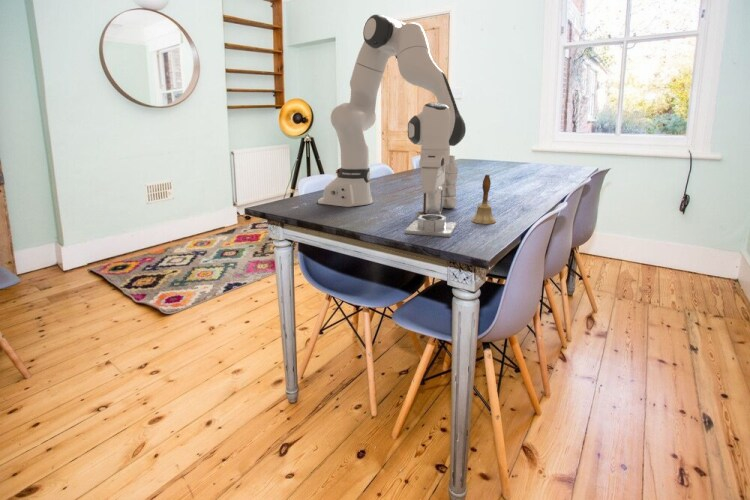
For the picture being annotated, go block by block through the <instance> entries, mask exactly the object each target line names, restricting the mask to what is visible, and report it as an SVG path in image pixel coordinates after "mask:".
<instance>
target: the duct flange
mask: <svg viewBox="0 0 750 500" xmlns="http://www.w3.org/2000/svg"><path fill="white" fill-rule="evenodd" d="M442 215H443V214H441V215H435V214H426V215H420V216H419V215H418V217H417V219H414V220H413V222H412V223H410V225H409V226H408V227H406V229H405V230H404V232H405V233H404V234H409V235H420V236H434V237H435V236H436V237H444V238H450V237H452V234H453V232H454V231H455V229H456V227H458V226H457V224H458V223H457V222H451V221H450V222H449V221H447V217H446V216H444V215H443V216H442Z"/></svg>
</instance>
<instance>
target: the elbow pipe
mask: <svg viewBox="0 0 750 500" xmlns="http://www.w3.org/2000/svg"><path fill="white" fill-rule="evenodd" d="M442 201H443V189H442V186H441V187H440V188H439V189H438V190H437V191H436V192H435V204H434V205H429V199H428V193H426V213H428V214H442V212H443V208H442Z"/></svg>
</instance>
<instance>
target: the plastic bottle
mask: <svg viewBox="0 0 750 500" xmlns="http://www.w3.org/2000/svg"><path fill="white" fill-rule="evenodd" d="M455 162H456V155H451V154H450V157H449V164H448V165H445V181H444V184H443V185H442V186H441V187H442V189H443V201H442V209H446V210H448V209H454V208H456V206H457V203H458V199H457V179H458V172H459V168H458V166H457V165H456V163H455Z"/></svg>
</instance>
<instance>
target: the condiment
mask: <svg viewBox="0 0 750 500" xmlns="http://www.w3.org/2000/svg"><path fill="white" fill-rule="evenodd" d="M422 206H423V207H422V208H423V210H422V211H414V213H415V214H416V215H418V217H419V216H420V215H426V214H428V213H426V193H423V205H422ZM435 215H442V216H444V214H442V213H440V214H435Z"/></svg>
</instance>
